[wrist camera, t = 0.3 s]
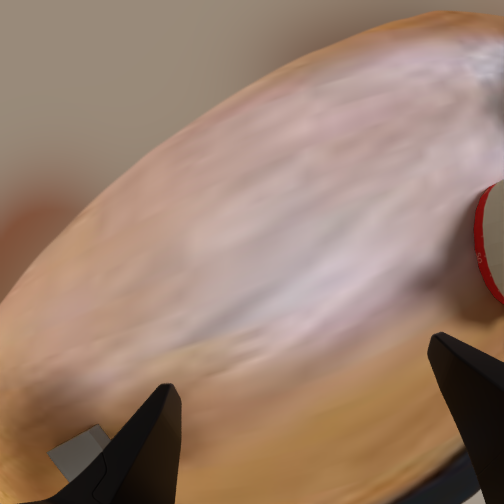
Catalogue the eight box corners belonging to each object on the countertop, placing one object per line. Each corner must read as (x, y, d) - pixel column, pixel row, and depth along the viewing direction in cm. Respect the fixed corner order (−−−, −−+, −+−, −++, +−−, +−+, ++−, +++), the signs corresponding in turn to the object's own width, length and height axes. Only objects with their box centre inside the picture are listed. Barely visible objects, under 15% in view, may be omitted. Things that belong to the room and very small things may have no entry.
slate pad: (158, 493, 22) (151, 503, 20) (106, 507, 22) (99, 515, 20) (98, 423, 23) (88, 430, 21) (55, 447, 23) (46, 452, 21)
